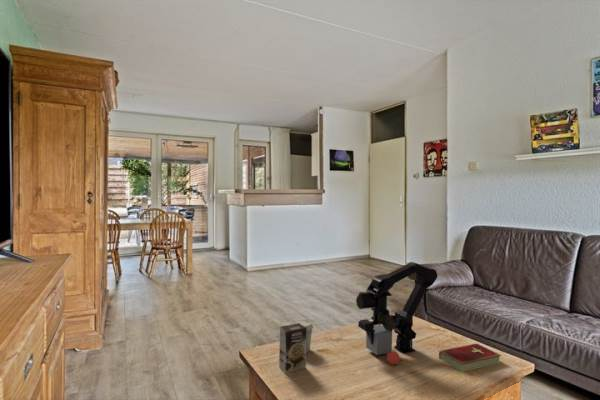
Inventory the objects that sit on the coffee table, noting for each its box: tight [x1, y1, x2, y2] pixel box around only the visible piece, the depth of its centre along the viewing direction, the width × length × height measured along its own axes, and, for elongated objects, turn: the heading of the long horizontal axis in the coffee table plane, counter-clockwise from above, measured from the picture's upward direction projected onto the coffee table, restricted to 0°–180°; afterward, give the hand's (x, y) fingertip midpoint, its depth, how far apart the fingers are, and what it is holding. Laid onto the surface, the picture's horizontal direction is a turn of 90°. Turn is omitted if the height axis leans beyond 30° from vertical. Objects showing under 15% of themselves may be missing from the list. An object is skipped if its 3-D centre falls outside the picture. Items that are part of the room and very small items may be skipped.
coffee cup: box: [294, 319, 314, 354], centre depth 147 cm, size 8×8×12 cm
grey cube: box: [365, 325, 393, 356], centre depth 144 cm, size 8×8×9 cm
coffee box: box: [278, 323, 307, 374], centre depth 132 cm, size 9×6×16 cm
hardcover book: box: [438, 343, 502, 372], centre depth 139 cm, size 12×21×4 cm, turn 111°
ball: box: [386, 350, 401, 365], centre depth 135 cm, size 5×5×5 cm
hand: (379, 342), depth 144 cm, fingers closed on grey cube, 8 cm apart
